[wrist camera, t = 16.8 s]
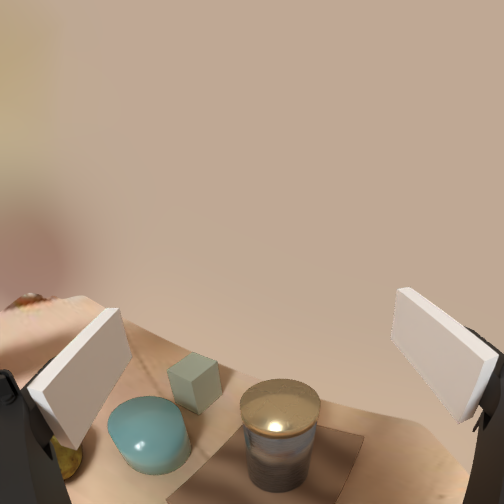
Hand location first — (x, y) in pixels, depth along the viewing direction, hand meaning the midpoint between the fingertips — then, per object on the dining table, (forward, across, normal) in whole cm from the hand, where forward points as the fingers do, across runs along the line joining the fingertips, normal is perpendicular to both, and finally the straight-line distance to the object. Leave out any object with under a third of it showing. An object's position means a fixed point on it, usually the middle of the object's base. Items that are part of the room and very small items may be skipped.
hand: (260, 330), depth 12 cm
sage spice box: (+24, -10, -26) cm, 37 cm away
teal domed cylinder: (+13, -15, -26) cm, 33 cm away
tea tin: (+8, +1, -24) cm, 26 cm away
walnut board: (+8, 0, -26) cm, 27 cm away
